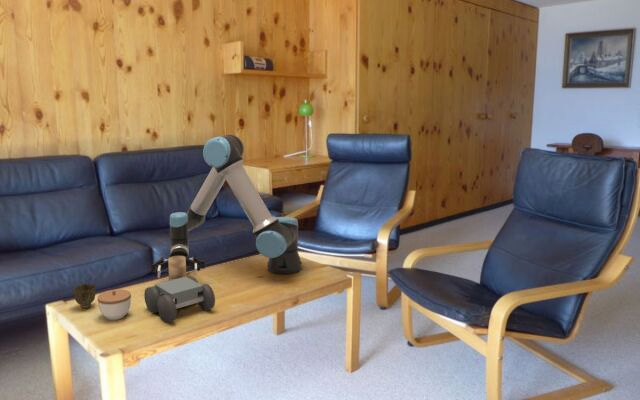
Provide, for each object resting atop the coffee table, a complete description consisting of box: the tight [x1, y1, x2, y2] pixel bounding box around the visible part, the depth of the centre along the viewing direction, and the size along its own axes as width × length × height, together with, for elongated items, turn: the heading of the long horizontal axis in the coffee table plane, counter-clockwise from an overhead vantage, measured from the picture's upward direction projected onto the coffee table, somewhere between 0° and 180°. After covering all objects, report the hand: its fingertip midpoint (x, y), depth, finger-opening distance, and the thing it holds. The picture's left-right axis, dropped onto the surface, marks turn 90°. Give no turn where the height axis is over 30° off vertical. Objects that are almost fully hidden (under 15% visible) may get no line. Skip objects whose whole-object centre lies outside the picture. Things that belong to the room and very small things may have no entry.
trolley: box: [143, 276, 216, 323], centre depth 186 cm, size 17×19×10 cm
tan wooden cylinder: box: [168, 256, 187, 281], centre depth 201 cm, size 6×6×14 cm
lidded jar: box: [96, 288, 132, 321], centre depth 181 cm, size 11×11×9 cm
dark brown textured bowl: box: [72, 282, 97, 310], centre depth 187 cm, size 8×7×8 cm
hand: (177, 273), depth 198 cm, fingers open, 13 cm apart
